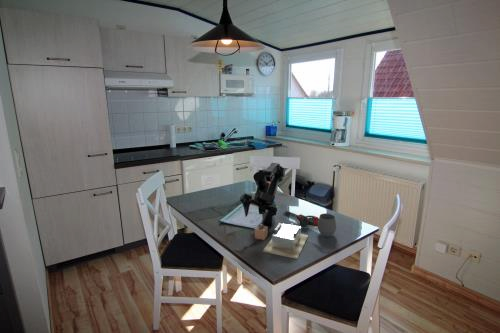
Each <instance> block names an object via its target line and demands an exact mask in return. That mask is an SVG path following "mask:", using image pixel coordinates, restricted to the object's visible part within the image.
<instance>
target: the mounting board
mask: <svg viewBox="0 0 500 333" xmlns="http://www.w3.org/2000/svg"><path fill="white" fill-rule="evenodd" d="M308 238H309V235H308V234H303V233H301V237H300V240H299V241H298V243H297V245H296V247H295V249H294V251H288V250H283V249H278V248H274V247H272V238H270V240H269V242H268V243H267V245H266V246H265V247H264V249H263V250H262V252H263V253H268V254H272V255H276V256H277V255H278V256H281V257H286V258H291V259H296V260H298V258H299V257H300V254H301V252H302V250H303V249H304V246H305V244H306V243H307V240H308Z"/></svg>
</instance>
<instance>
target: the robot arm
mask: <svg viewBox="0 0 500 333" xmlns="http://www.w3.org/2000/svg"><path fill="white" fill-rule="evenodd" d="M285 176H286V170H285V167H283V166H282V165H281V164H280V163H279V162H271V163H270V165H269V166H268V167H267V168H262V169H259V170H258V171H257V172H255V173H254V174H253V181H254V184H255V185H256V190H255V192H254V194H253V196H254V197H253V196H252V194H251V195H250V194H249V193H247V192H245V193H243V194H242V195H241V196H240V197H239V199H238V200H239V202H240V204H242V207H243V210H244V216H245V217H248V214H249V210H250V206H251V204H253V205H254V206H257V208H258V214H259V215H262V217H261V219H262V220H261V223H260V224H263V225H264V226H267V227H268V228H272V226H273V225H274V224H275V223H276V222H275V221H274V216H276V215H277V212H278V208H277V207H276V206H275V199H276V193H277V190H278V186H279V184H280V183H281V182H282V181H283V180H284V178H285ZM269 182H270V183H269Z"/></svg>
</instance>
